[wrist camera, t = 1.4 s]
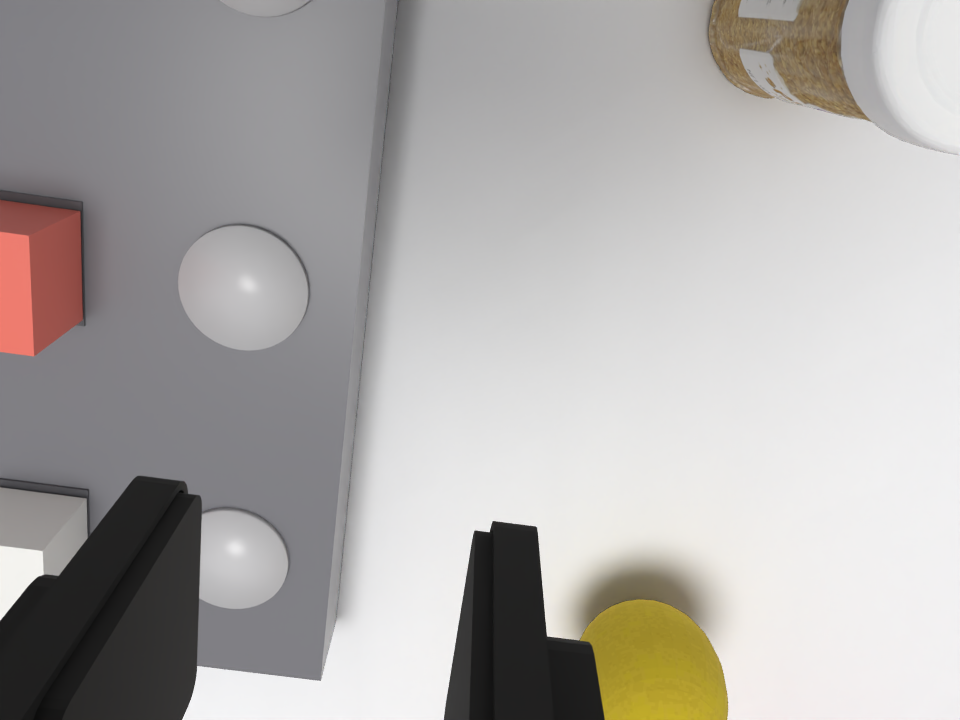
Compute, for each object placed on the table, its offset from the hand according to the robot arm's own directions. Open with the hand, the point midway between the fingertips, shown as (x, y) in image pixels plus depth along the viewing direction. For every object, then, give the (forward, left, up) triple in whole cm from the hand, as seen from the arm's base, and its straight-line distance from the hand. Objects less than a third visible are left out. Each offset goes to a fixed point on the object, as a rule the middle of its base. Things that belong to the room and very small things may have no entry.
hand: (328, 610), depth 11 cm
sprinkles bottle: (-8, +10, -21) cm, 25 cm away
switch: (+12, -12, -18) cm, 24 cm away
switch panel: (+2, -10, -21) cm, 24 cm away
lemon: (+15, +10, -21) cm, 28 cm away
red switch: (+2, -12, -18) cm, 21 cm away
